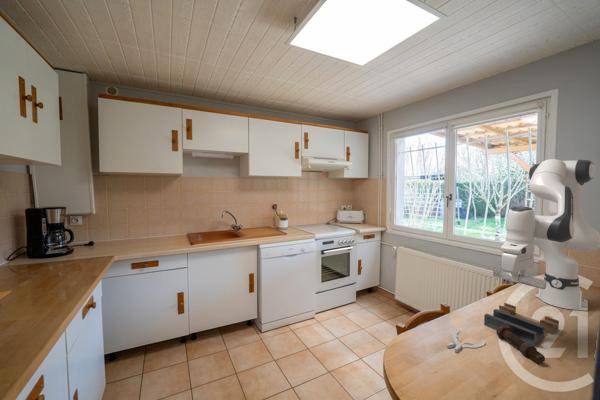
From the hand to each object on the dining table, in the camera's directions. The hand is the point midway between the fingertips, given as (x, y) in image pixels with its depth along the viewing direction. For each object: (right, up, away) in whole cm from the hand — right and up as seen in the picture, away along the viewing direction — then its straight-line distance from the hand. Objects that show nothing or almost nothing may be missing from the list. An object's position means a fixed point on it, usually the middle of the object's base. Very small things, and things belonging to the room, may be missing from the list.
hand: (518, 280), depth 100 cm
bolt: (-10, -22, -12) cm, 26 cm away
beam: (+10, -20, +6) cm, 23 cm away
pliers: (-28, -21, -8) cm, 36 cm away
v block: (-2, -21, 0) cm, 21 cm away
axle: (0, +1, 0) cm, 1 cm away
